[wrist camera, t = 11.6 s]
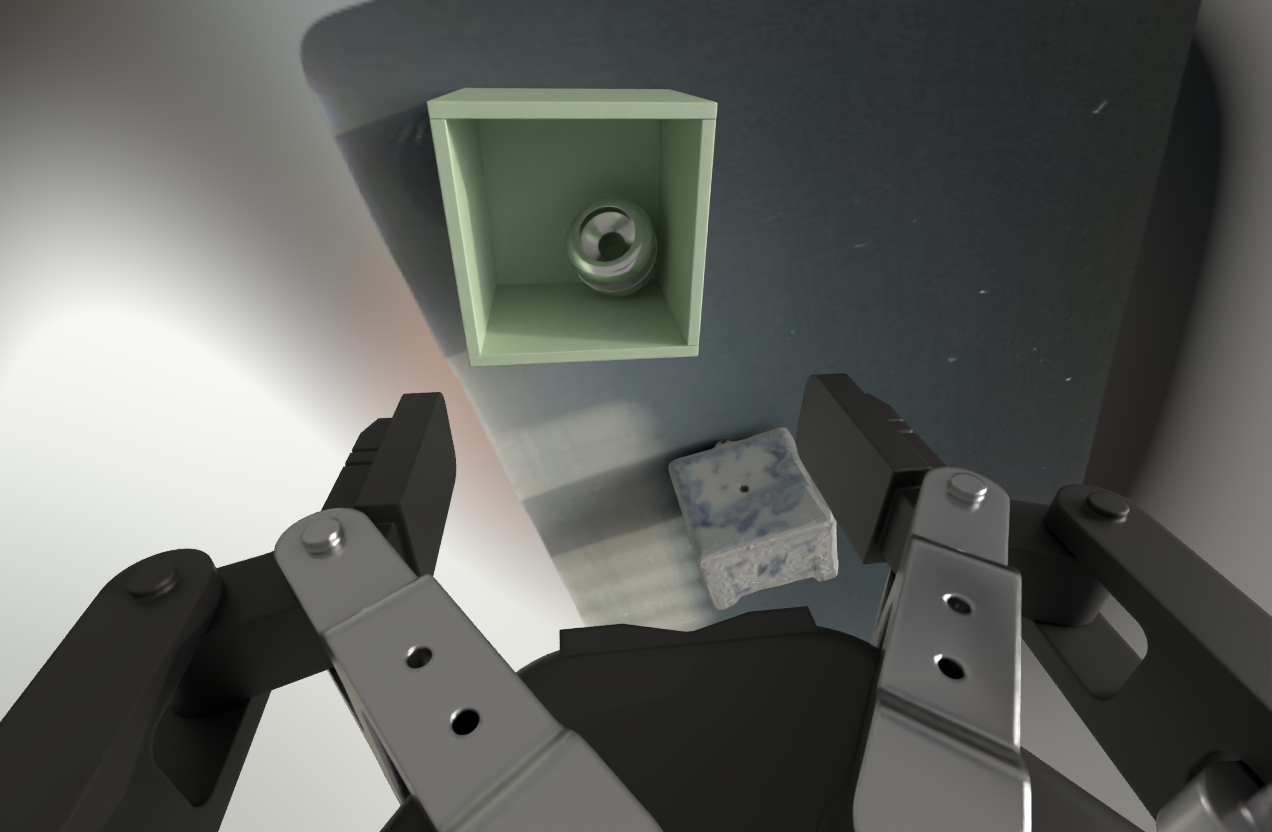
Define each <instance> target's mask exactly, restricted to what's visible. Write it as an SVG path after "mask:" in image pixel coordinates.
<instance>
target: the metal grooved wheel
mask: <svg viewBox="0 0 1272 832" xmlns="http://www.w3.org/2000/svg"><path fill="white" fill-rule="evenodd" d="M614 244H623V245H625V249H624V251H623V253H622V254H621V255H620V256H618V257H616V258H606V257H604V254H605V252H606V250H607V249H608V248H609V247H610V246H611V245H614ZM565 251H566V255H567V258H568V260H569V262H570V264H571V266H572V267H573V268H574V270H575V271H576V272H577V274H578V276H579V277H580V278H581V280H582V281H583V283H584V284H585V285H586V286H587V287H588V288H589V289H590V290H592V291H593V292H595V293H597V294H599V295H602V296H606V297H623V296H627V295H630V294H633V293H635V292H637V291H638V290H640V289H641V288H642V287H644V286H645V285H646V284H647V283H648V282H649V281H650V279H651V278H652V276H653V275H654V273H655V271H656V269H657V266H658V262H659V245H658V242H657V238H656V235H655V232H654V228H653V224H652V222H651V219H650V217H649V215H648V214H647V212H646V211H645V210H644V209H643V208H642V207H641V206H640V205H639V204H638V203H636V202H635V201H633V200H631V199H629V198H627V197H623V196H619V195H605V196H600V197H597V198H594V199H592V200H590V201H588V202H587V203H585V204H584V205H582V206H581V207H580V208H579V209H578V210H577V211H576V212H575V214H574V215H573V216H572V218H571V220H570V221H569V224H568V226H567V229H566V233H565Z"/></svg>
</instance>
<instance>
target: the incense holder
mask: <svg viewBox="0 0 1272 832" xmlns="http://www.w3.org/2000/svg"><path fill="white" fill-rule="evenodd" d="M668 469H669V473H670V476H671V480H672V484H673V487H674V489H675V492H676V495H677V498H678V502H679V505H680V509H681V511H682V515H683V519H684V522H685V526H686V529H687V532H688V536H689V539H690V543H691V546H692V551H693V554H694V558H695V561H696V564H697V566H698V569H699V572H700V575H701V577H702V580H703V582H704V585H705V587H706V590H707V593H708V595H709V599H710V602H711V604H712V606H713V608H715V609H717V610H721V609H726V608H728V607H730V606H732V605H733V604H735V603H736V602H737V601H738V599H739V598H740V597H741V596H744V595H747V594H750V593H753V592H755V591H758V590H761V589H766V588H771V587H775V586H779V585H782V584H788V583H791V582H793V581H797V580H802V579H806V578H809V577H814V578H815V579H816V580H818V581H824V580H829V579H831V578H834V577H835V576H836V575H837V573H838V559H837V545H836V541H837V538H836V521H835V519H834V517H833V515H832V512H831V510H830V508H829V507H828V505H827V503H826V502H825V500H824V498H823V497H822V495H821V493H820V492H819V490H818V488H817V487H816V485H815V483H814V482H813V480H812V478H811V477H810V475H809V473H808V472H807V470H806V469H805V467H804V465H803V464H802V462H801V460H800V458H799V456H798V452H797V447H796V444H795V442H794V440H793V438H792V436H791V434H790V432H789V431H788V430H787V428H776V429H773V430H770V431H766V432H764V433H760V434H757V435H755V436H752V437H749V438H747V439H743V440H739V441H733V442H731V441H729V440H720V441H719V442H718V443H717V444H716V445H715V447H714V448H713V449H710V450H707V451H703V452H699V453H695V454H692V455H689V456H685V457H681V458H677V459H675V460H673V461H672V462H670V463H669V467H668Z"/></svg>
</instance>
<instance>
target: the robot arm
mask: <svg viewBox="0 0 1272 832" xmlns="http://www.w3.org/2000/svg"><path fill="white" fill-rule="evenodd" d="M796 447H797V452H798V456H799V458H800V460H801V462H802V464H803V465H804V467H805V469H806V470H807V472H808V473H809V475H810V477H811V478H812V480H813V482H814V483H815V485H816V487H817V488H818V490H819V492H820V493H821V495H822V497H823V498H824V500H825V502H826V503H827V505H828V507H829V508H830V510H831V511H832V513H833V515H834V516H835V518H836V520H837V521H838V523H839V525H840V526H841V528H842V530H843V531H844V533H845V535H846V536H847V538H848V540H849V541H850V543H851V545H852V546H853V548H854V549H855V551H856V553H857V554H858V556H859V558H860V559H861V561H862V563H863V564H873V563H884V562H887V563H888V564H889V566H890V567H891V569H890V572H889V575H888V578H887V580H886V584H885V588H884V591H883V595H882V599H881V603H880V606H879V610H878V614H877V617H876V621H875V625H874V629H873V632H872V636H871V640H870V643H868V642H866V641H864V640H861V639H859V638H857V637H855V636H852V635H849V634H846V633H843V632H841V631H837V630H833V629H829V628H825V627H819V626H816V624H815V621H814V619H813V617H812V615H811V613H810V610H809V608H808V606H805V607H795V608H784V609H774V610H763V611H752V612H747V613H744V614H741V615H738V616H736V617H733V618H730V619H727V620H724V621H721V622H718V623H716V624H713V625H710V626H707V627H704V628H701V629H698V630H695V631H690V632H683V631H675V630H667V629H660V628H652V627H644V626H636V625H628V624H615V625H605V626H594V627H584V628H573V629H563V630H560V650H558V651H556V652H553V653H550V654H547V655H545V656H543V657H541V658H539V659H537V660H535V661H533V662H531V663H530V664H528V665H526V666H525V667H523V668H521V669H520V670H519V671H517V672H516V673H515V672H514V670H513V669H512V668H511V667H510V666H509V664H508V663H507V662H506V661H505V660H504V659H503V657H502V656H501V655H500V654H499V653H498V652H497V650H496V649H495V648H494V647H493V646H492V645H491V643H490V642H489V641H488V640H487V639H486V638H485V637H484V635H483V634H482V633H481V632H480V631H479V629H478V628H477V627H476V626H475V625H474V624H473V622H472V621H471V620H470V619H469V618H468V617H467V616H466V614H465V613H464V612H463V611H462V610H461V608H460V607H459V606H458V605H457V604H456V603H455V601H454V600H453V599H452V598H451V597H450V596H449V594H448V593H447V592H446V591H445V590H444V589H443V588H442V586H441V585H440V584H439V583H438V582H437V580H436V579H435V578H434V577H433V575H434V570H435V566H436V562H437V557H438V553H439V549H440V544H441V540H442V536H443V531H444V527H445V523H446V518H447V514H448V510H449V506H450V501H451V497H452V492H453V488H454V484H455V478H456V457H455V450H454V445H453V440H452V435H451V430H450V425H449V419H448V414H447V410H446V404H445V400H444V397H443V395H442V393H440V392H432V393H410V394H403V396H402V397H401V399H400V402H399V404H398V406H397V408H396V411H395V413H394V415H393V417H392V418H380V419H379V418H378V419H377V420H376V421H375V422H373V423H372V424H371V425H370V426H369V427H367V428H366V429H365V430H364V431H363V432H361V434H360V435H359V437H358V439H357V441H356V443H355V445H354V447H353V449H352V453H350V455H349V457H348V459H347V461H346V463H345V467H343V469H342V470H341V472H340V474H339V477H338V479H337V480H336V482H335V484H334V486H333V488H332V490H331V492H330V494H329V496H328V498H327V500H326V502H325V504H324V506H323V508H322V510H321V511H320V512H316V513H314V514H311V515H309V516H307V517H305V518H303V519H301V520H299V521H298V522H296V523H294V524H293V525H292V526H290V527H289V528H288V529H287V530H286V531H285V532H284V533H283V534H282V535H281V537H280V538H279V539H278V541H277V543H276V545H275V549H274V551H272V552H270V553H267V554H264V555H261V556H258V557H254V558H250V559H247V560H244V561H240V562H236V563H233V564H230V565H226V566H222V567H219V568H216V567H215V565H214V563H213V561H212V560H211V558H210V556H209V555H207V554H206V553H204V552H203V551H200V550H196V549H177V550H170V551H166V552H162V553H159V554H156V555H153V556H150V557H148V558H146V559H143V560H141V561H139V562H137V563H135V564H133V565H131V566H130V567H128V568H127V569H125V570H123V571H122V572H120V573H119V574H118V575H116V576H115V577H114V578H113V579H112V580H110V581H109V582H108V583H107V584H106V585H105V586H104V587H103V589H102V590H101V591H100V592H99V594H98V595H97V596H96V597H95V599H94V600H93V601H92V603H91V604H90V605H89V607H88V608H87V609H86V611H85V612H84V613H83V614H82V616H81V617H80V618H79V620H78V621H77V622H76V624H75V625H74V626H73V628H72V629H71V630H70V631H69V633H68V634H67V635H66V637H65V638H64V639H63V641H62V642H61V643H60V645H59V646H58V647H57V649H56V650H55V651H54V652H53V654H52V655H51V656H50V658H49V659H48V660H47V662H46V663H45V664H44V665H43V667H42V668H41V669H40V671H39V672H38V674H37V675H36V676H35V677H34V679H33V680H32V681H31V683H30V684H29V685H28V687H27V688H26V689H25V690H24V692H23V693H22V694H21V696H20V697H19V698H18V700H17V701H16V702H15V703H14V705H13V706H12V707H11V709H10V710H9V711H8V713H7V714H6V715H5V717H4V718H3V719H2V721H1V722H0V832H218V831H219V828H220V825H221V823H222V820H223V817H224V815H225V812H226V809H227V807H228V804H229V802H230V799H231V796H232V794H233V791H234V788H235V786H236V783H237V780H238V778H239V775H240V772H241V770H242V767H243V764H244V762H245V759H246V757H247V754H248V751H249V748H250V746H251V743H252V741H253V738H254V735H255V733H256V730H257V727H258V725H259V722H260V719H261V717H262V714H263V711H264V709H265V706H266V703H267V701H268V698H269V695H270V693H271V690H274V689H276V688H279V687H282V686H284V685H287V684H290V683H293V682H295V681H298V680H300V679H303V678H306V677H309V676H312V675H314V674H317V673H319V672H322V671H325V670H327V671H328V672H329V674H330V676H331V677H332V680H333V681H334V683H335V685H336V687H337V688H338V690H339V692H340V694H341V696H342V697H343V699H344V701H345V703H346V705H347V706H348V708H349V710H350V712H351V713H352V715H353V717H354V719H355V721H356V722H357V724H358V726H359V728H360V730H361V731H362V733H363V735H364V737H365V739H366V740H367V742H368V744H369V746H370V748H371V749H372V751H373V753H374V755H375V757H376V759H377V761H378V763H379V765H380V767H381V769H382V771H383V773H384V775H385V777H386V779H387V781H388V783H389V785H390V786H391V788H392V790H393V792H394V794H395V796H396V798H397V800H398V801H399V803H400V805H401V806H400V807H399V809H398V810H397V811H396V812H395V814H394V815H393V816H392V817H391V818H390V820H389V821H388V822H387V823H386V825H385V826H384V827H383V828H382V829H381V831H380V832H1145V831H1143V830H1142V829H1140V828H1139V827H1137V826H1136V825H1134V824H1133V823H1132V822H1130V821H1129V820H1127V819H1126V818H1124V817H1123V816H1121V815H1120V814H1119V813H1117V812H1116V811H1114V810H1113V809H1111V808H1110V807H1108V806H1107V805H1106V804H1104V803H1103V802H1101V801H1100V800H1098V799H1097V798H1095V797H1094V796H1092V795H1091V794H1090V793H1088V792H1087V791H1085V790H1084V789H1082V788H1081V787H1079V786H1078V785H1076V784H1075V783H1074V782H1072V781H1070V780H1069V779H1068V778H1066V777H1065V776H1063V775H1062V774H1061V773H1059V772H1058V771H1056V770H1055V769H1053V768H1052V767H1050V766H1049V765H1048V764H1046V763H1045V762H1043V761H1042V760H1040V759H1039V758H1037V757H1036V756H1035V755H1033V754H1032V753H1030V752H1029V751H1027V750H1026V749H1024V748H1023V747H1021V746H1020V665H1021V664H1020V663H1021V659H1020V658H1021V637H1022V639H1023V640H1024V641H1025V643H1026V644H1027V646H1028V647H1029V648H1030V649H1031V651H1032V652H1033V653H1034V655H1035V656H1036V658H1037V659H1038V660H1039V662H1040V663H1041V665H1042V666H1043V667H1044V669H1045V670H1046V672H1047V673H1048V674H1049V676H1050V677H1051V678H1052V680H1053V681H1054V682H1055V684H1056V685H1057V686H1058V688H1059V689H1060V691H1061V692H1062V693H1063V695H1064V696H1065V698H1066V699H1067V700H1068V702H1069V703H1070V704H1071V706H1072V707H1073V708H1074V710H1075V711H1076V712H1077V714H1078V715H1079V717H1080V718H1081V719H1082V721H1083V722H1084V724H1085V725H1086V726H1087V727H1088V729H1089V730H1090V732H1091V733H1092V735H1093V736H1094V737H1095V738H1096V740H1097V741H1098V743H1099V744H1100V746H1101V747H1102V748H1103V750H1104V751H1105V752H1106V753H1107V755H1108V756H1109V758H1110V759H1111V760H1112V762H1113V763H1114V765H1115V766H1116V767H1117V769H1118V770H1119V772H1120V773H1121V774H1122V776H1123V777H1124V778H1125V780H1126V781H1127V782H1128V784H1129V785H1130V786H1131V788H1132V789H1133V791H1134V792H1135V793H1136V795H1137V796H1138V797H1139V799H1140V800H1141V802H1142V803H1143V804H1144V806H1145V807H1146V809H1147V810H1148V811H1149V813H1150V814H1151V815H1152V817H1153V818H1154V819H1155V821H1156V827H1157V832H1272V616H1270V615H1269V614H1268V613H1267V612H1266V611H1264V610H1263V609H1262V608H1261V607H1259V606H1258V605H1257V604H1256V603H1255V602H1254V601H1252V600H1251V599H1250V598H1249V597H1248V596H1246V595H1245V594H1244V593H1243V592H1241V591H1240V590H1239V589H1238V588H1237V587H1236V586H1234V585H1233V584H1232V583H1230V581H1228V580H1227V579H1226V578H1225V577H1224V576H1222V575H1221V574H1220V573H1219V572H1218V571H1216V570H1215V569H1214V568H1212V567H1211V566H1210V565H1209V564H1208V563H1207V562H1206V561H1204V560H1203V559H1202V558H1201V557H1199V556H1198V555H1197V554H1196V553H1195V552H1194V551H1192V550H1191V549H1190V548H1189V547H1188V546H1186V545H1185V544H1184V543H1183V542H1182V541H1180V540H1179V539H1178V538H1177V537H1175V536H1174V535H1173V534H1172V533H1171V532H1169V531H1168V530H1167V529H1166V528H1165V527H1163V526H1162V525H1161V524H1160V523H1159V522H1157V521H1156V520H1155V519H1154V518H1153V517H1151V516H1150V515H1149V514H1148V513H1147V512H1145V511H1144V510H1143V509H1142V508H1140V507H1139V506H1138V505H1137V504H1135V503H1133V502H1132V501H1130V500H1128V499H1127V498H1125V497H1123V496H1121V495H1119V494H1116V493H1114V492H1111V491H1109V490H1106V489H1102V488H1099V487H1094V486H1089V485H1082V484H1073V485H1067V486H1064V487H1062V488H1060V489H1059V490H1058V492H1057V494H1056V496H1055V498H1054V499H1053V501H1052V503H1051V505H1043V504H1036V503H1029V502H1022V501H1015V500H1009V497H1008V495H1007V494H1006V492H1005V491H1004V490H1003V489H1002V488H1001V487H1000V486H999V485H998V484H997V483H996V482H994V481H993V480H991V479H989V478H988V477H986V476H984V475H982V474H979V473H977V472H974V471H971V470H968V469H964V468H959V467H950V466H946V464H945V463H944V462H943V461H942V460H941V459H940V458H939V457H938V456H937V455H936V454H935V453H934V452H933V451H932V450H931V449H930V448H929V447H928V446H927V444H926V443H925V442H924V441H923V440H922V439H921V438H920V437H919V436H918V435H917V434H916V433H913V430H912V429H911V428H910V427H909V426H908V425H907V423H906V422H905V421H904V422H902V418H901V417H900V416H899V415H898V414H897V413H896V412H895V411H894V410H893V409H892V408H891V407H890V406H889V405H888V404H886V403H885V402H883V401H881V400H879V399H878V398H876V397H874V396H872V395H871V394H865V393H864V392H863V391H862V390H861V389H860V388H859V387H858V386H857V385H856V383H855V382H854V381H853V380H852V379H851V378H850V377H849V376H848V375H847V374H844V373H841V374H821V375H811V376H810V377H809V378H808V380H807V383H806V387H805V392H804V397H803V402H802V407H801V412H800V417H799V422H798V427H797V432H796ZM1110 595H1112V596H1113V597H1114V598H1115V599H1116V600H1117V601H1118V602H1119V603H1120V604H1121V605H1122V606H1123V607H1124V608H1125V609H1126V610H1127V611H1128V612H1129V613H1130V615H1132V617H1133V618H1134V619H1136V621H1137V622H1138V623H1139V624H1140V626H1141V627H1142V629H1143V631H1144V633H1145V635H1146V638H1147V643H1148V650H1147V654H1146V656H1145V658H1144V659H1143V660H1142V659H1141V658H1140V657H1139V656H1138V655H1137V654H1136V652H1135V651H1134V650H1133V649H1132V648H1131V647H1130V646H1129V645H1128V644H1127V643H1126V641H1125V640H1124V639H1123V638H1122V637H1121V636H1120V635H1119V634H1118V632H1117V631H1115V629H1114V628H1113V627H1112V626H1111V625H1110V624H1109V623H1108V621H1107V620H1106V619H1105V618H1104V617H1103V616H1102V615H1101V614H1100V613H1099V611H1100V609H1101V608H1102V606H1103V605H1104V604H1105V602H1106V601H1107V599H1108V597H1109V596H1110Z"/></svg>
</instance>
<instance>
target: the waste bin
mask: <svg viewBox="0 0 1272 832" xmlns="http://www.w3.org/2000/svg"><path fill="white" fill-rule="evenodd" d="M427 107H428V113H429V118H430V125H431V132H432V138H433V144H434V150H435V156H436V162H437V168H438V174H439V181H440V187H441V193H442V199H443V205H444V211H445V217H446V223H447V229H448V236H449V242H450V248H451V254H452V260H453V266H454V272H455V278H456V285H457V291H458V297H459V303H460V309H461V315H462V321H463V327H464V334H465V340H466V346H467V352H468V355H469V356H468V358H469V364H470V367H474V366H495V365H517V364H539V363H560V362H582V361H603V360H625V359H647V358H668V357H690V356H698V347H699V346H698V344H699V333H700V320H701V307H702V294H703V281H704V268H705V255H706V242H707V229H708V216H709V203H710V190H711V177H712V164H713V151H714V137H715V124H716V120H715V119H716V113H717V103H716V102H713V101H710V100H706V99H702V98H699V97H695V96H692V95H688V94H684V93H681V92H677V91H674V90H669V89H545V88H464V89H460V90H458V91H455V92H452V93H449V94H446V95H444V96H441V97H438V98H435V99H432V100H430V101H427ZM605 195H619V196H623V197H627V198H629V199H631V200H633V201H635V202H636V203H638V204H639V205H640V206H641V207H642V208H643V209H644V210H645V211H646V212H647V214H648V215H649V217H650V219H651V222H652V224H653V228H654V232H655V235H656V238H657V242H658V245H659V262H658V266H657V269H656V271H655V273H654V275H653V276H652V278H651V279H650V281H649V282H648V283H647V284H646V285H645V286H644V287H642V288H641V289H640V290H638V291H637V292H635V293H633V294H630V295H627V296H623V297H606V296H602V295H599V294H597V293H595V292H593V291H592V290H590V289H589V288H588V287H587V286H586V285H585V284H584V283H583V281H582V280H581V278H580V277H579V276H578V274H577V272H576V271H575V270H574V268H573V267H572V266H571V264H570V262H569V260H568V258H567V255H566V251H565V233H566V229H567V226H568V224H569V221H570V220H571V218H572V216H573V215H574V214H575V212H576V211H577V210H578V209H579V208H580V207H581V206H582V205H584V204H585V203H587V202H588V201H590V200H592V199H594V198H597V197H600V196H605ZM624 249H625V245H623V244H614V245H611V246H610V247H609V248H608V249H607V250H606V252H605V254H604V257H606V258H616V257H618V256H620V255H621V254H622V253H623V251H624Z"/></svg>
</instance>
